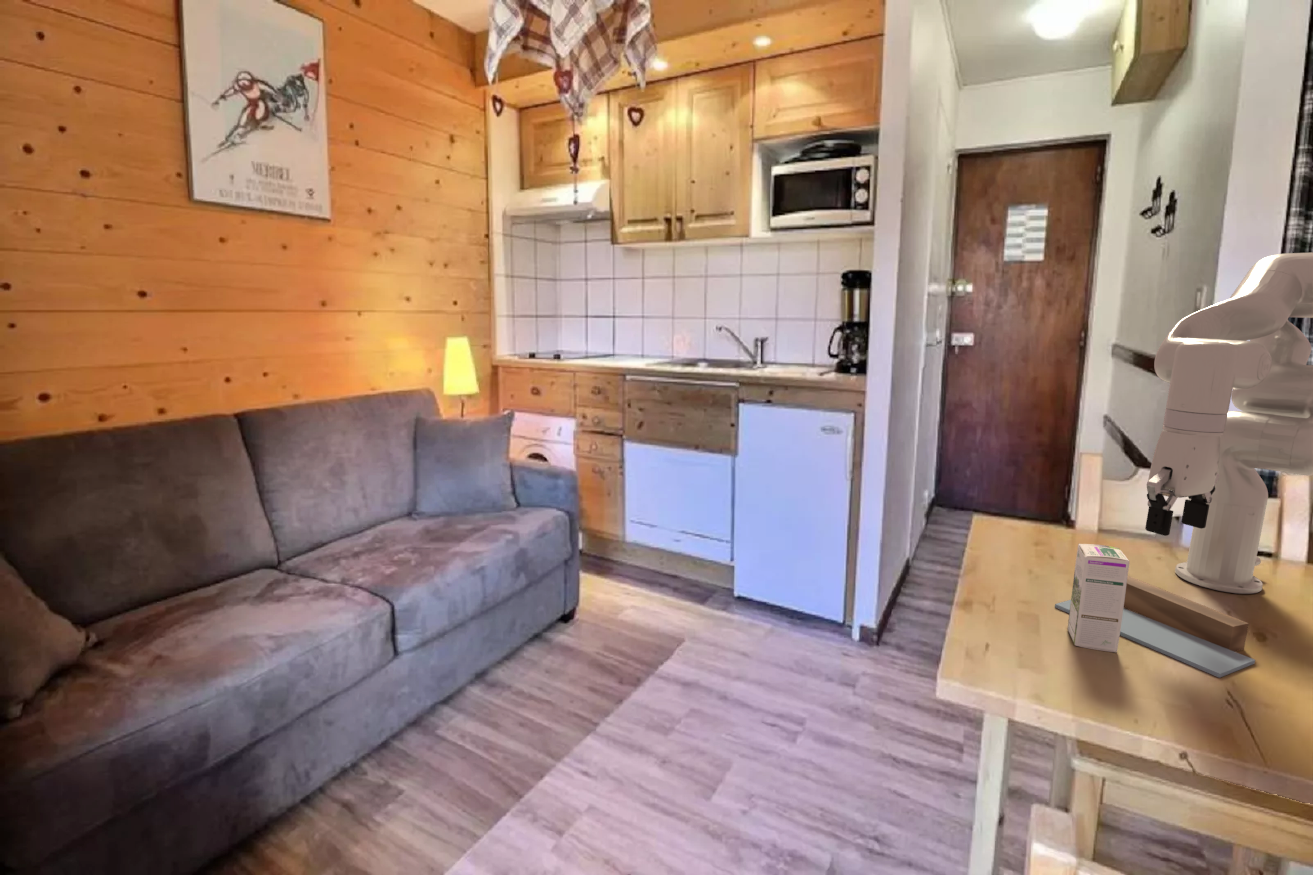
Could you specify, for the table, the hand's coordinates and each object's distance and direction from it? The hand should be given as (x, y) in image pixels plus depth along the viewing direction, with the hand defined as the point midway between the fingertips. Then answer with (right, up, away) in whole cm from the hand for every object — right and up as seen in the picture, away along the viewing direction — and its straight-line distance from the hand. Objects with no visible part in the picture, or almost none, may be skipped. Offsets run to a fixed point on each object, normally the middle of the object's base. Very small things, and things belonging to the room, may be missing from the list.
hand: (1175, 529), depth 108 cm
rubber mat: (-6, -16, -2) cm, 17 cm away
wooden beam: (0, -15, +3) cm, 16 cm away
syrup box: (-16, -17, -4) cm, 23 cm away
